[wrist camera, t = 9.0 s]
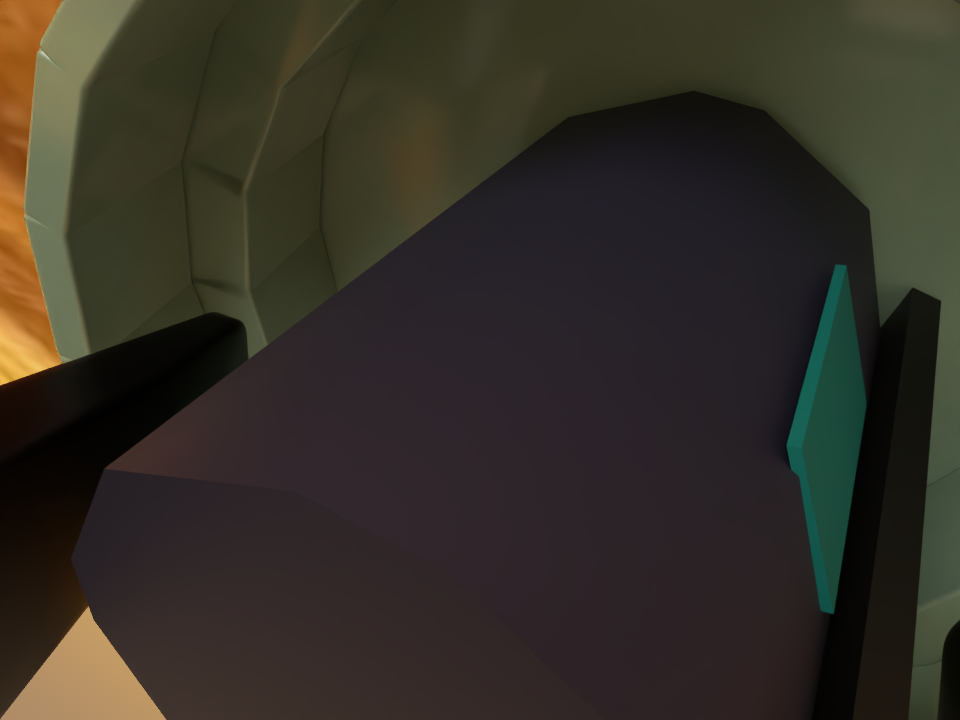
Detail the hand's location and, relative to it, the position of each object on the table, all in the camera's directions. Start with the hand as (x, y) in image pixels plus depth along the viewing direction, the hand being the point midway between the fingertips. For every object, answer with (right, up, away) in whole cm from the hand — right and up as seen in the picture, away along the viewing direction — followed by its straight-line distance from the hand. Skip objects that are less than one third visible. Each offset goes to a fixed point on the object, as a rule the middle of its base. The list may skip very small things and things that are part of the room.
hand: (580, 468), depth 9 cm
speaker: (+1, +2, +3) cm, 4 cm away
